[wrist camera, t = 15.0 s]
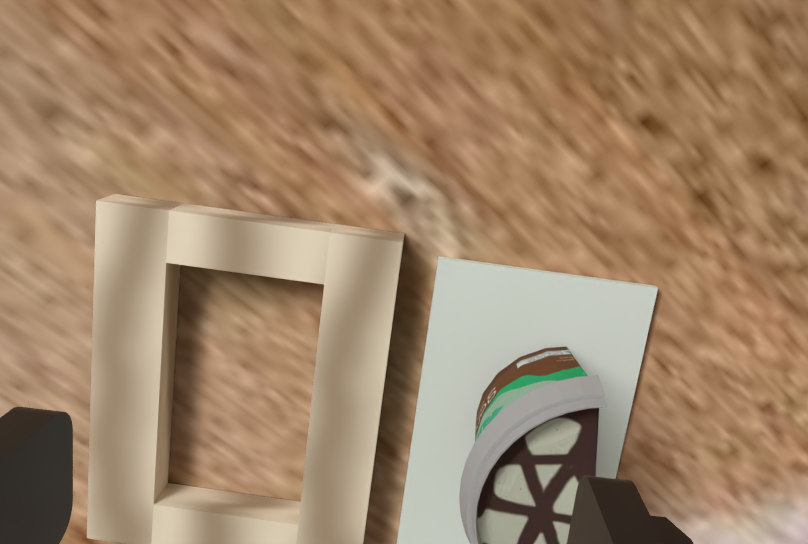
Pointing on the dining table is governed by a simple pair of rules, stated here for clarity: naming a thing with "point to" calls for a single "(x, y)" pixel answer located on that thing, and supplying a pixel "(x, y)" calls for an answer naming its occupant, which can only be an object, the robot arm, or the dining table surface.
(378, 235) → the frame
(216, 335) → the dining table surface
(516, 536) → the patterned half cylinder
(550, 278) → the mat
